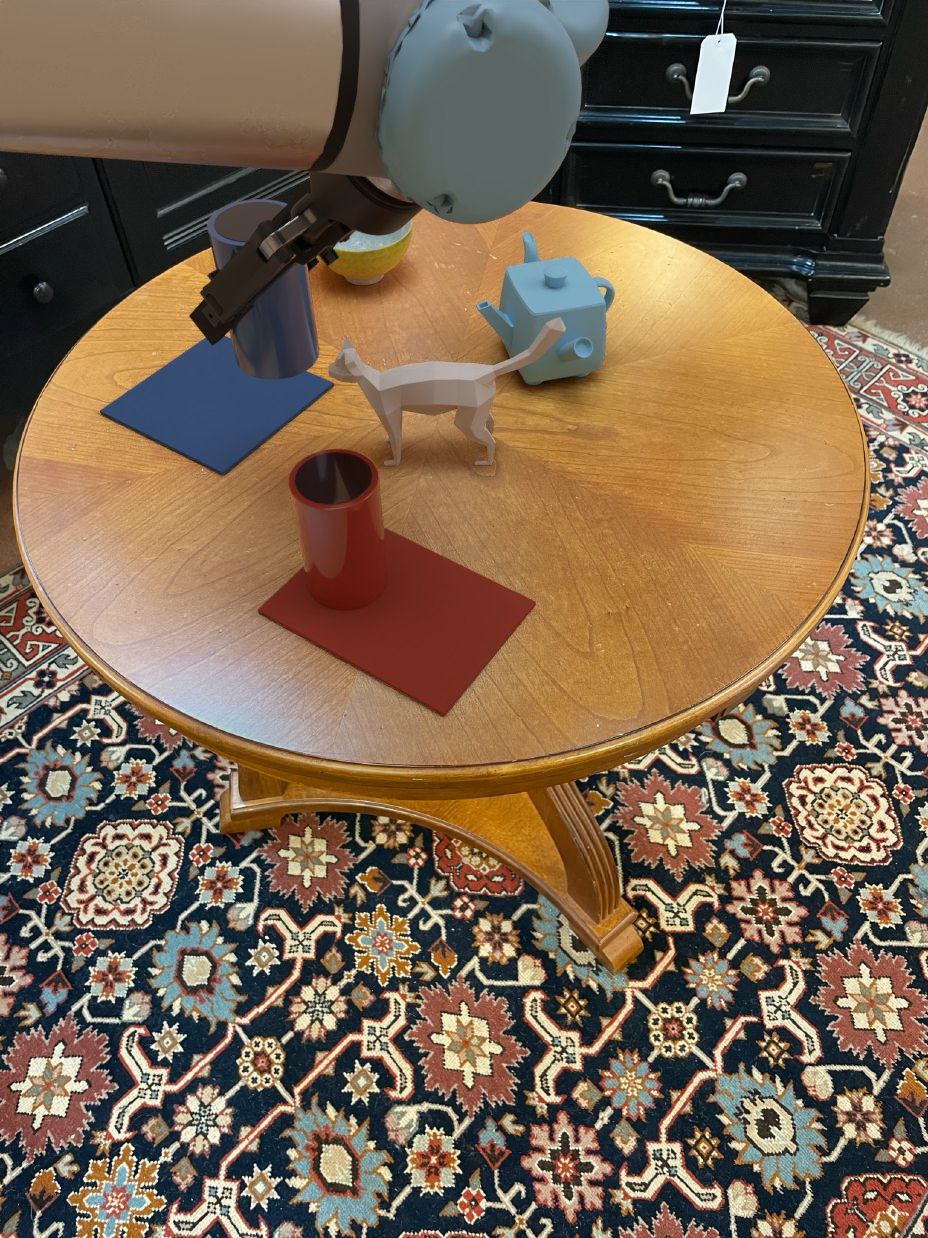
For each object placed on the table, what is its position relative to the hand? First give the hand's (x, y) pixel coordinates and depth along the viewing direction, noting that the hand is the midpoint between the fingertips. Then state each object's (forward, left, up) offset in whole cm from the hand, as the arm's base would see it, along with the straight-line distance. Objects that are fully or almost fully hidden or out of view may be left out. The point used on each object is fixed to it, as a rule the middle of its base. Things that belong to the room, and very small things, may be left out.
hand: (237, 306), depth 75 cm
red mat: (+20, -7, -16) cm, 27 cm away
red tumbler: (+15, -7, -16) cm, 23 cm away
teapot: (+12, +28, -17) cm, 35 cm away
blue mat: (-11, +5, -16) cm, 20 cm away
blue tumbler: (+4, 0, -3) cm, 5 cm away
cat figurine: (+12, +11, -17) cm, 23 cm away
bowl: (-13, +31, -17) cm, 37 cm away
